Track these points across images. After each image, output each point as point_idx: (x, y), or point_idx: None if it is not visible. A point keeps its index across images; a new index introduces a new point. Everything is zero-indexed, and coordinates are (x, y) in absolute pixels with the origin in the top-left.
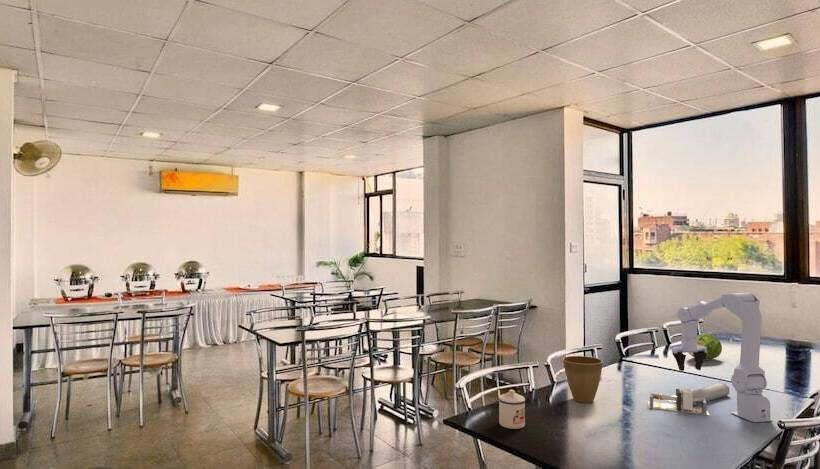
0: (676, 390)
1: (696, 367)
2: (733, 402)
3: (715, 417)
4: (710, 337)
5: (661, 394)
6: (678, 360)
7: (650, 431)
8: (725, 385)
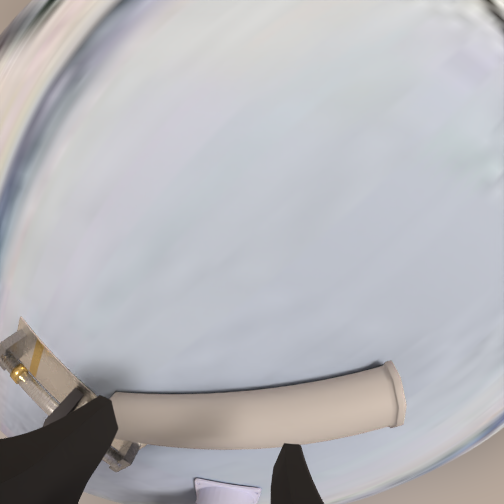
0: (43, 426)
1: (281, 463)
2: (316, 443)
3: (134, 464)
4: None
5: (18, 383)
6: (47, 451)
7: (7, 409)
8: (393, 426)
